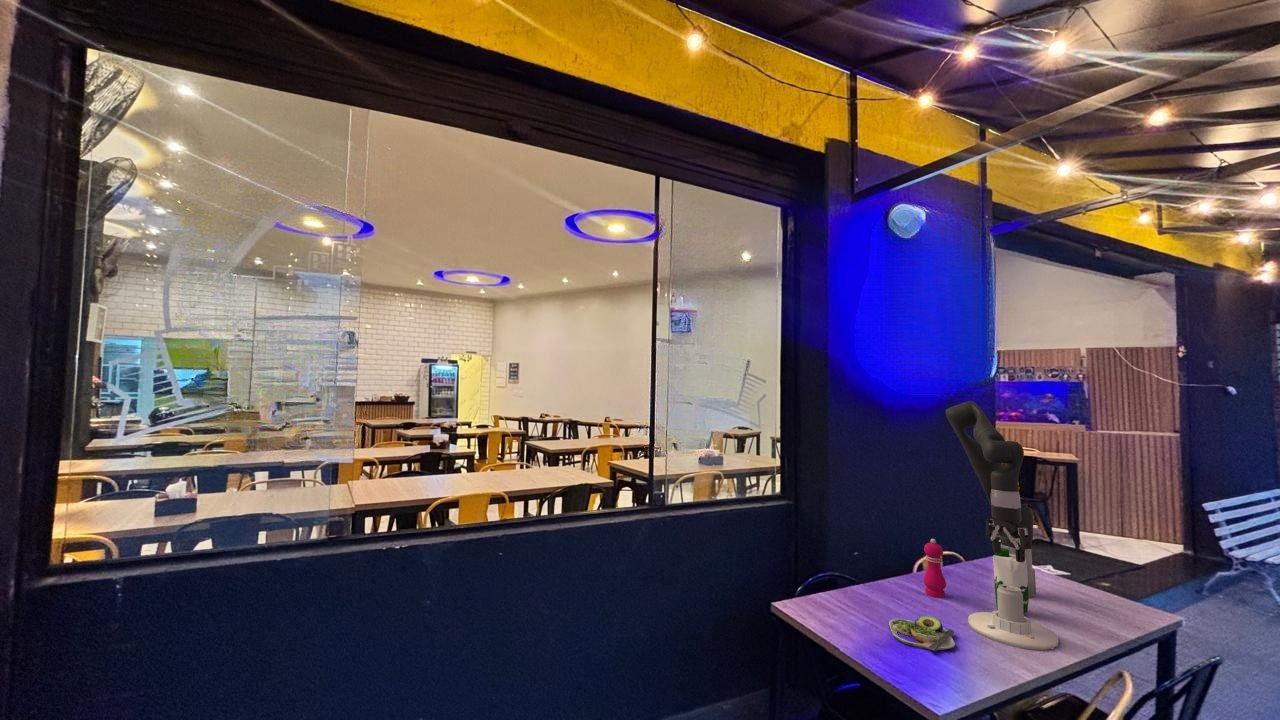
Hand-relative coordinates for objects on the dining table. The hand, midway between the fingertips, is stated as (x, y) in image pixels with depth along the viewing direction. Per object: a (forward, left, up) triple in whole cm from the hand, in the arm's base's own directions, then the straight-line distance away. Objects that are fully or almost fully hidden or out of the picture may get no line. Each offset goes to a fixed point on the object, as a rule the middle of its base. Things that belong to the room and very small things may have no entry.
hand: (1008, 557), depth 153 cm
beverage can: (+1, +1, -21) cm, 21 cm away
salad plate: (+31, +2, -23) cm, 38 cm away
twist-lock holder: (+1, +1, -22) cm, 22 cm away
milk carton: (-13, -14, -22) cm, 30 cm away
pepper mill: (+4, -29, -22) cm, 37 cm away
